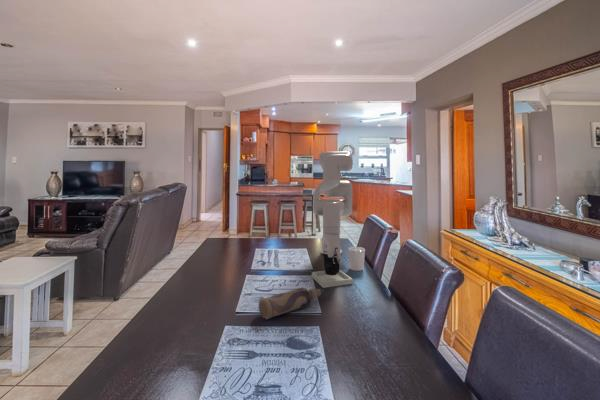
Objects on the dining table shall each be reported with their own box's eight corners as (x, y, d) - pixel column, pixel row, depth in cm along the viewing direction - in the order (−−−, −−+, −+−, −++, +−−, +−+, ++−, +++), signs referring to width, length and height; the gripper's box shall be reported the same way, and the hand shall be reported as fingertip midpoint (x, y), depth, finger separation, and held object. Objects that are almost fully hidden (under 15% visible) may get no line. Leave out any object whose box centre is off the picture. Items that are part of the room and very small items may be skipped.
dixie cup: (327, 279, 125) (327, 254, 124) (319, 273, 132) (319, 249, 131) (343, 277, 128) (343, 252, 127) (334, 271, 135) (334, 248, 134)
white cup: (363, 266, 148) (364, 246, 147) (365, 271, 141) (365, 251, 140) (347, 265, 149) (348, 246, 148) (349, 271, 141) (349, 250, 140)
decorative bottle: (269, 324, 93) (268, 304, 92) (257, 315, 99) (257, 296, 98) (330, 302, 108) (330, 284, 107) (317, 295, 114) (317, 279, 113)
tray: (311, 276, 134) (311, 272, 134) (338, 273, 138) (338, 269, 138) (323, 287, 121) (323, 282, 121) (352, 283, 126) (352, 278, 125)
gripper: (316, 226, 135) (316, 264, 137) (331, 234, 118) (331, 276, 120) (331, 225, 137) (331, 262, 139) (348, 233, 121) (348, 274, 123)
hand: (331, 268), depth 130 cm, fingers closed on dixie cup, 8 cm apart
